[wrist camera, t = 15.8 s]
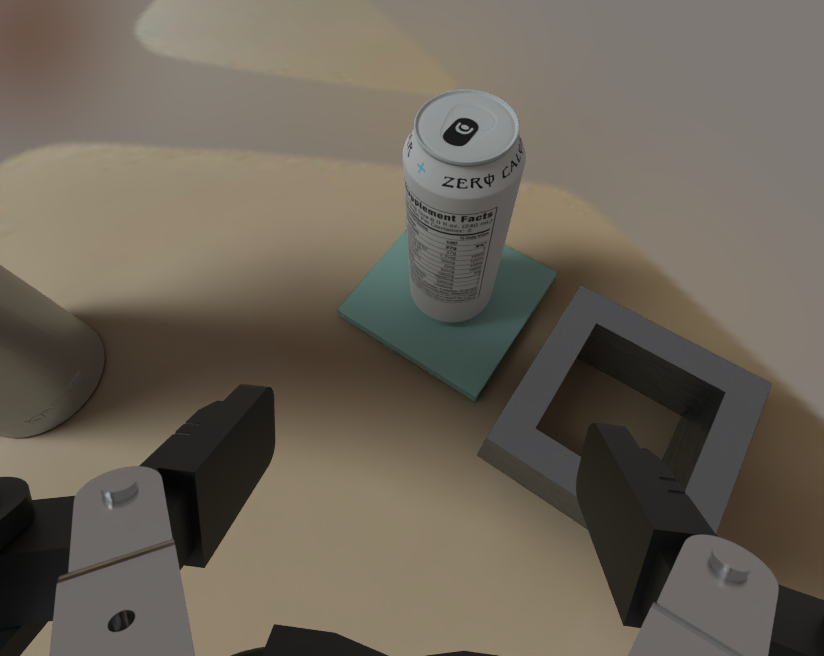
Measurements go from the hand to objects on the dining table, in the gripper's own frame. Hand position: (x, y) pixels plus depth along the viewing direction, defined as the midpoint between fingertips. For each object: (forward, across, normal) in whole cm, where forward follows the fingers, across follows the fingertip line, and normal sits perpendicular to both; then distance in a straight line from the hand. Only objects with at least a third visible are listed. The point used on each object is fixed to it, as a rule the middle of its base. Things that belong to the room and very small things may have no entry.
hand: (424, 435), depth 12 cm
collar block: (+17, -12, +9) cm, 23 cm away
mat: (+24, -1, +3) cm, 24 cm away
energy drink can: (+24, -1, +2) cm, 24 cm away
